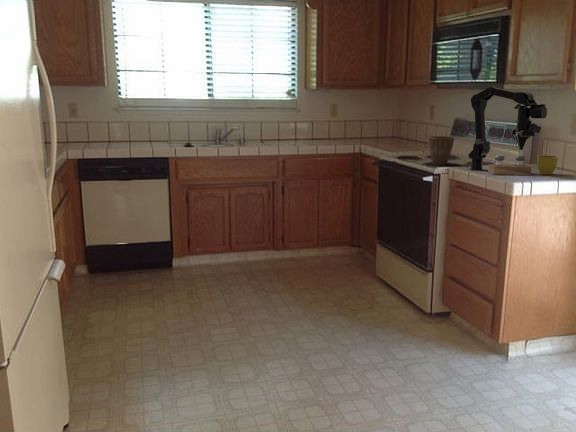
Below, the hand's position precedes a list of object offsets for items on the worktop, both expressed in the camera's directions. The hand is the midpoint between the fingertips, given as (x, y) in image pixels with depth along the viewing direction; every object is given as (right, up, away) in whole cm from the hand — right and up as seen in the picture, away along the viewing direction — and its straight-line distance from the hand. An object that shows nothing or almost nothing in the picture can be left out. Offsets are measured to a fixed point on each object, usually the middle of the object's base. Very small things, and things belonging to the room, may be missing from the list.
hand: (521, 149), depth 273 cm
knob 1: (-10, -9, +3) cm, 13 cm away
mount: (-5, -12, +3) cm, 13 cm away
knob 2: (0, -9, +2) cm, 9 cm away
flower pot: (+13, -12, +1) cm, 18 cm away
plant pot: (-28, -3, +48) cm, 55 cm away
